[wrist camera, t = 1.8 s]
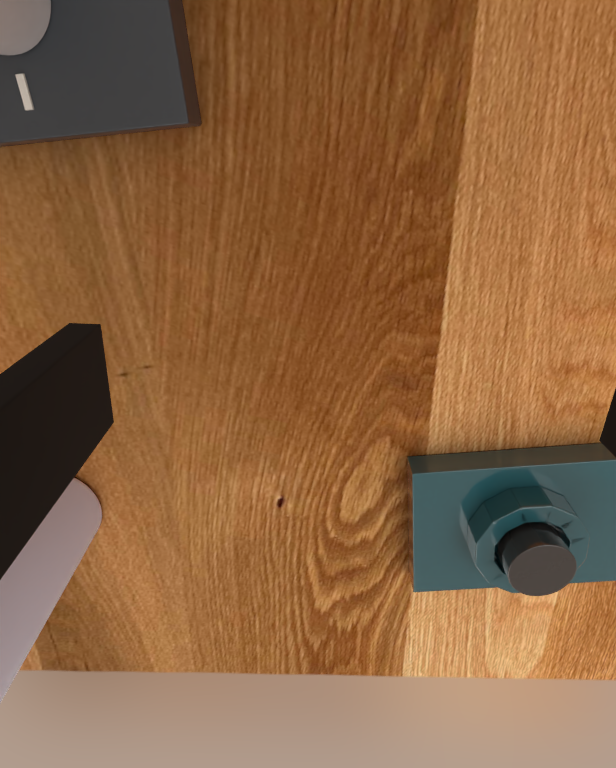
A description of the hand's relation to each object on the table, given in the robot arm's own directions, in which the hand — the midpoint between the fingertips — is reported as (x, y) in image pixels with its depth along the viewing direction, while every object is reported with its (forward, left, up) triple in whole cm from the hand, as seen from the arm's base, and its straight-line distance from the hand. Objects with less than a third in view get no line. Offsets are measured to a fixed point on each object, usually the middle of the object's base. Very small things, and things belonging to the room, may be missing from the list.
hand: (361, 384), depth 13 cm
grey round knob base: (-11, +18, -17) cm, 27 cm away
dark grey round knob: (-11, +18, -14) cm, 25 cm away
